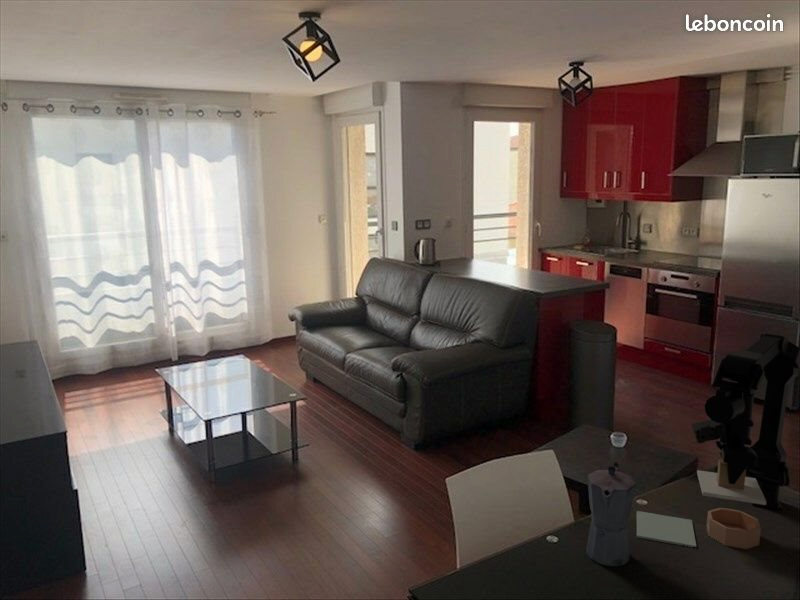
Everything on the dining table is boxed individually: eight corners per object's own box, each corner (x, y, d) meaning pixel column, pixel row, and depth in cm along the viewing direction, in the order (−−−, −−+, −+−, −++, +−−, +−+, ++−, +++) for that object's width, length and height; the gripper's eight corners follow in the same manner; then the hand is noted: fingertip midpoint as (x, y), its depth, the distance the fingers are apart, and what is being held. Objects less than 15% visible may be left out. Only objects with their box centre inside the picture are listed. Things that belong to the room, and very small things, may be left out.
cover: (697, 473, 146) (699, 449, 145) (755, 481, 142) (757, 457, 141) (702, 495, 135) (705, 469, 134) (766, 505, 131) (768, 478, 130)
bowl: (705, 521, 147) (706, 505, 146) (753, 529, 143) (755, 513, 143) (709, 542, 137) (711, 525, 137) (761, 551, 134) (763, 534, 133)
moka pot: (579, 568, 127) (584, 475, 124) (586, 531, 141) (592, 447, 138) (628, 579, 124) (636, 483, 121) (631, 540, 138) (638, 454, 135)
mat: (636, 512, 150) (636, 510, 150) (691, 522, 146) (691, 520, 146) (636, 537, 139) (636, 535, 139) (696, 548, 135) (696, 545, 135)
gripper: (692, 396, 147) (686, 459, 150) (700, 421, 130) (694, 492, 132) (745, 402, 144) (739, 466, 146) (761, 428, 126) (754, 501, 129)
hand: (730, 480), depth 138 cm, fingers closed on cover, 3 cm apart
